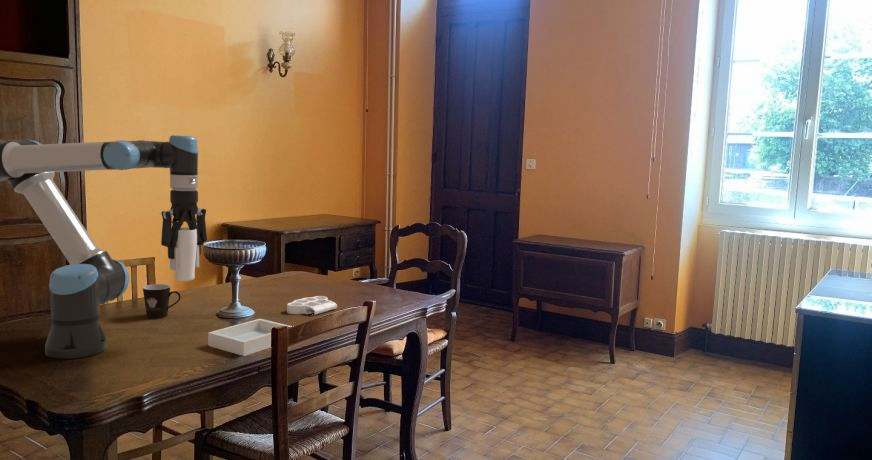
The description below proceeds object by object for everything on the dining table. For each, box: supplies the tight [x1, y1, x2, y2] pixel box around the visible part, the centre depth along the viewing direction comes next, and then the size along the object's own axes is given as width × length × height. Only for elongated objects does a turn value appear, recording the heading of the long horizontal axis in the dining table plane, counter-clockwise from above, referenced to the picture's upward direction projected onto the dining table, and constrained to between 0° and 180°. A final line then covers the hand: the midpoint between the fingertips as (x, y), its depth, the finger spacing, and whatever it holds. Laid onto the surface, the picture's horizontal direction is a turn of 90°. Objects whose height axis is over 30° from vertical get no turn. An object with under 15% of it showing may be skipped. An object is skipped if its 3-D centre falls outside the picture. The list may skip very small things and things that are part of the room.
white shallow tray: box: [207, 318, 292, 357], centre depth 199 cm, size 20×15×4 cm
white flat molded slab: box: [286, 295, 338, 316], centre depth 240 cm, size 3×18×15 cm
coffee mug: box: [142, 283, 182, 320], centre depth 223 cm, size 12×9×10 cm
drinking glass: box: [174, 227, 197, 282], centre depth 195 cm, size 7×7×15 cm
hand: (184, 267), depth 196 cm, fingers closed on drinking glass, 7 cm apart
